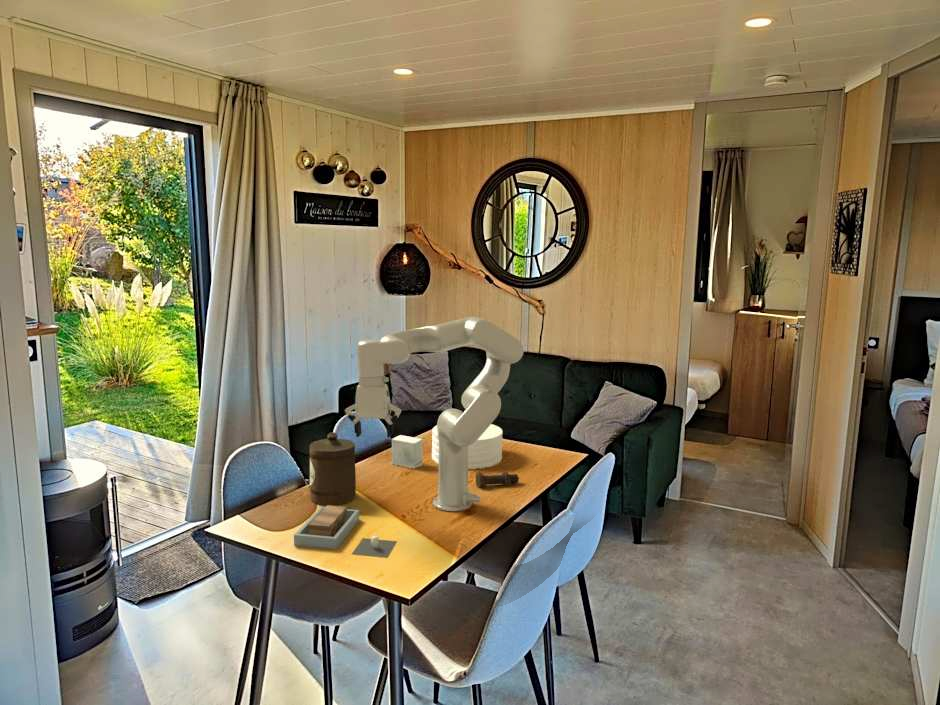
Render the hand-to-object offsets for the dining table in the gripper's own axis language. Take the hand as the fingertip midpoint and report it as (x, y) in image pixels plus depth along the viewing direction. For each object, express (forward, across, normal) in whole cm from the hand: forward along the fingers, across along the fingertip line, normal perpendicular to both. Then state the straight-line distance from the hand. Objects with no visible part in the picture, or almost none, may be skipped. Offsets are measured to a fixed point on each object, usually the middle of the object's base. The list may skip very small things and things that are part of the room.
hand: (374, 435), depth 199 cm
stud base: (+25, -6, +24) cm, 35 cm away
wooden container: (+25, +18, -11) cm, 33 cm away
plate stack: (+28, -20, -61) cm, 70 cm away
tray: (+25, +10, +17) cm, 32 cm away
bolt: (+28, -35, -32) cm, 55 cm away
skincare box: (+27, +1, -48) cm, 55 cm away
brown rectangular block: (+24, +10, +17) cm, 31 cm away
